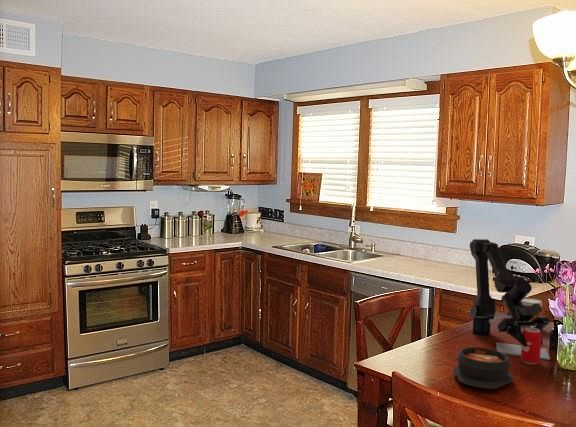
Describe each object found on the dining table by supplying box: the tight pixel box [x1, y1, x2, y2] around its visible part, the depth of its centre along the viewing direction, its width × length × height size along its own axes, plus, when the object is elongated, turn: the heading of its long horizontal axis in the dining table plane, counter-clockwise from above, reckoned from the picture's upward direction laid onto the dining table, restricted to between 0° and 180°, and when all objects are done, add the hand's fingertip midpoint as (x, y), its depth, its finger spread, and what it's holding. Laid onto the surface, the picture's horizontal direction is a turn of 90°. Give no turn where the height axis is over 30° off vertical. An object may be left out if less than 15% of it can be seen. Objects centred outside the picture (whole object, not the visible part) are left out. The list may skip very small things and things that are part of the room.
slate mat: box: [495, 342, 551, 361], centre depth 204 cm, size 18×12×1 cm, turn 70°
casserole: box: [452, 346, 514, 390], centre depth 176 cm, size 25×19×8 cm
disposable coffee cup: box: [521, 297, 543, 329], centre depth 237 cm, size 10×10×12 cm
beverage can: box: [520, 327, 542, 365], centre depth 193 cm, size 6×6×12 cm
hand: (533, 345), depth 192 cm, fingers closed on beverage can, 6 cm apart
